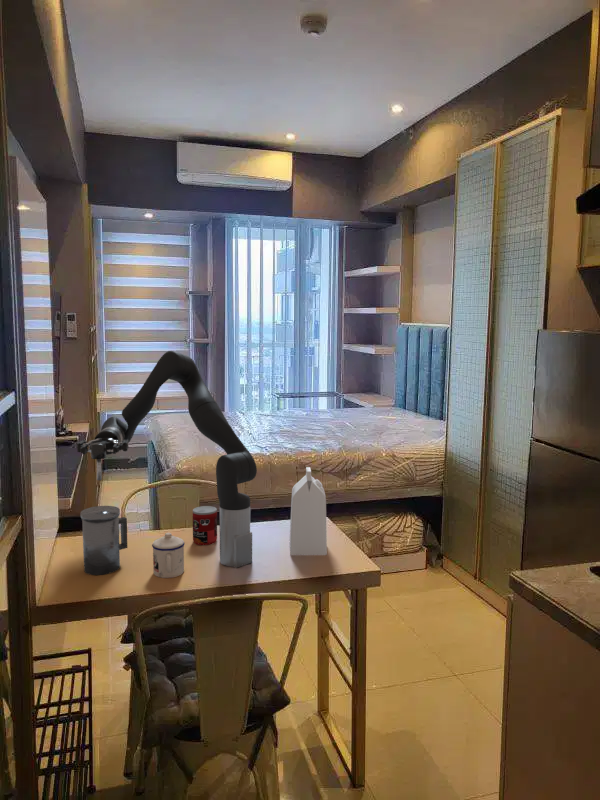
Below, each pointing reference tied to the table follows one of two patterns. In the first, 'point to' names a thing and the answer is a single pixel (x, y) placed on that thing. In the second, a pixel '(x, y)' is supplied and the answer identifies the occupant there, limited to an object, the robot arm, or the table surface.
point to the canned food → (205, 525)
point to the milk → (308, 517)
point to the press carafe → (102, 539)
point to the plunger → (98, 456)
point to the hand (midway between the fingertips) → (98, 450)
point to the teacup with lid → (168, 556)
